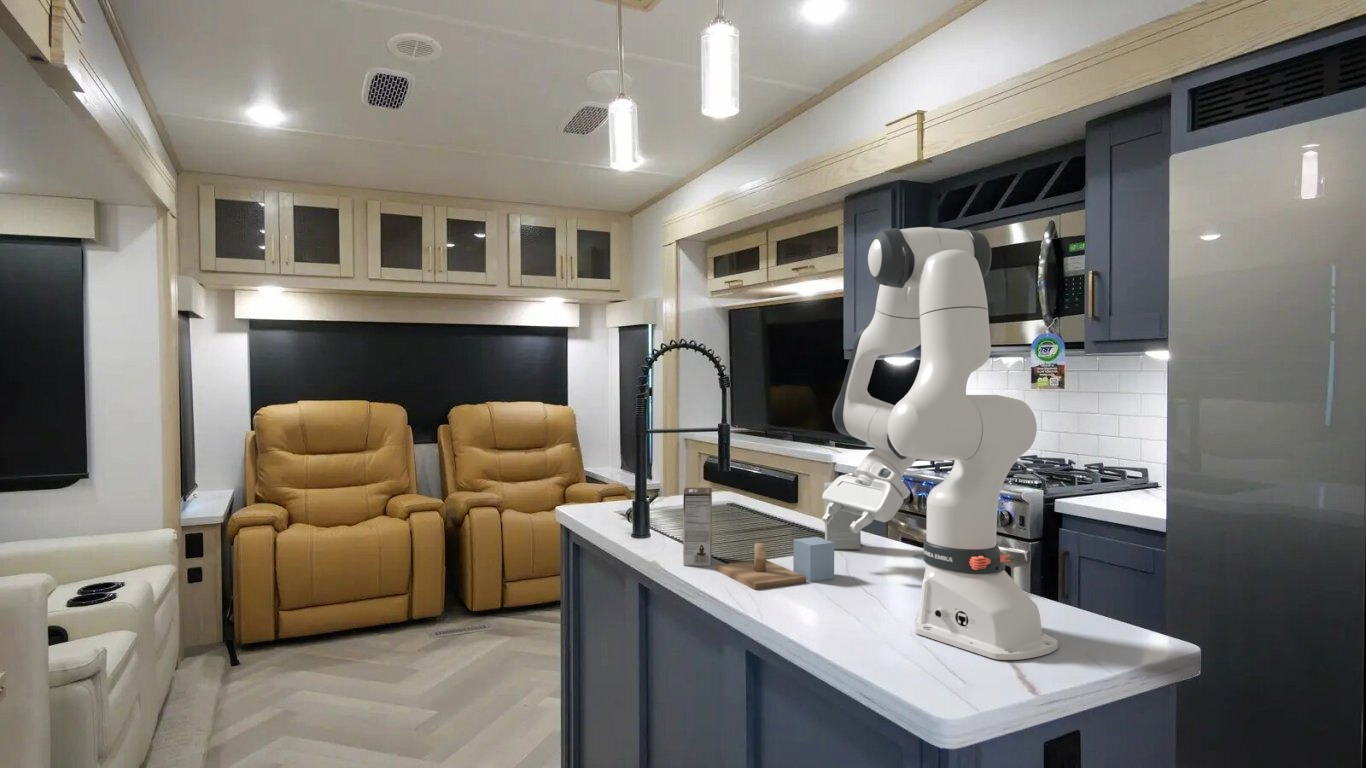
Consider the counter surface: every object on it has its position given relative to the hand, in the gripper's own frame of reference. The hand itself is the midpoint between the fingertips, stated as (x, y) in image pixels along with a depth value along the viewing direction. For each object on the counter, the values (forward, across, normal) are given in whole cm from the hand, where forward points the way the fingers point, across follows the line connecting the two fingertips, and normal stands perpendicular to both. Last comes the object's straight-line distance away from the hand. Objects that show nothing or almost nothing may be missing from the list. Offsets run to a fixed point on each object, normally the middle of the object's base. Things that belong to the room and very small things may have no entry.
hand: (838, 526), depth 161 cm
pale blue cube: (+12, 0, +2) cm, 12 cm away
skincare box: (-4, -19, +18) cm, 26 cm away
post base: (+19, -5, -5) cm, 20 cm away
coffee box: (+23, -22, -9) cm, 33 cm away
